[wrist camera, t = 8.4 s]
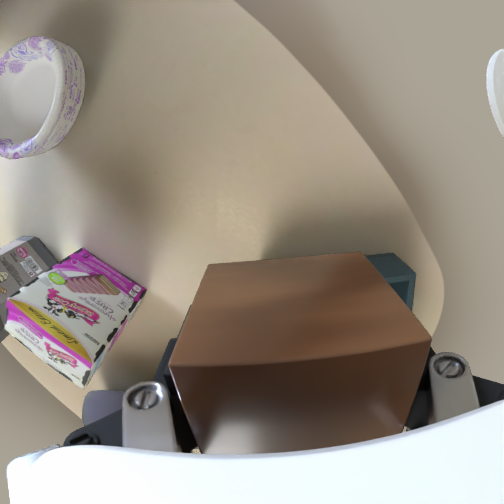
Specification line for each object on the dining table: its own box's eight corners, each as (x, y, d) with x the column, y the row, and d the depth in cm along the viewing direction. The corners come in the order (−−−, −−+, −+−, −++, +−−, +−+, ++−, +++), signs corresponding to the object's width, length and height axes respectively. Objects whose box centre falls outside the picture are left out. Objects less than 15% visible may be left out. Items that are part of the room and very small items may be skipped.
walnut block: (361, 250, 11) (433, 337, 5) (352, 368, 12) (386, 469, 7) (207, 263, 11) (166, 364, 6) (228, 379, 13) (214, 486, 7)
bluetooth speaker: (115, 410, 48) (97, 448, 38) (95, 374, 45) (72, 413, 35) (233, 414, 46) (228, 461, 37) (223, 376, 43) (215, 426, 34)
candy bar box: (149, 287, 39) (95, 365, 23) (135, 313, 40) (85, 393, 25) (82, 243, 37) (4, 297, 21) (72, 271, 38) (2, 331, 23)
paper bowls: (27, 170, 33) (-10, 179, 26) (11, 81, 29) (-24, 77, 21) (109, 126, 32) (74, 124, 24) (89, 28, 27) (57, 11, 20)
